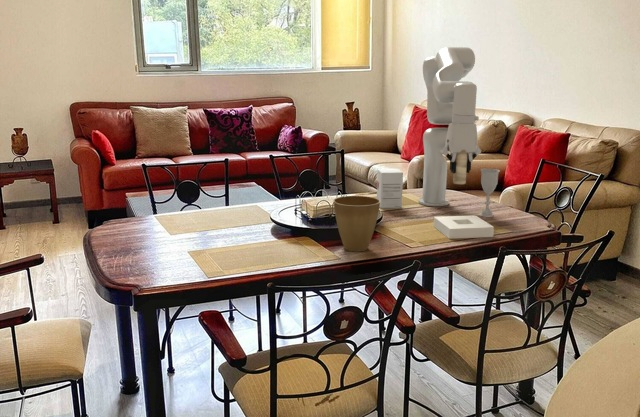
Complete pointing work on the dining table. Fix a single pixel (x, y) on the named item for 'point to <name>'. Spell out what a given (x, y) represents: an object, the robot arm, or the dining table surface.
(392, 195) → the supplement box
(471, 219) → the socket
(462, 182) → the peg
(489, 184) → the chalice
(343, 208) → the plant pot
